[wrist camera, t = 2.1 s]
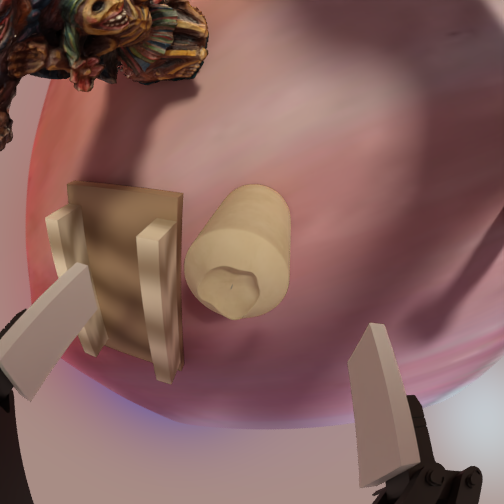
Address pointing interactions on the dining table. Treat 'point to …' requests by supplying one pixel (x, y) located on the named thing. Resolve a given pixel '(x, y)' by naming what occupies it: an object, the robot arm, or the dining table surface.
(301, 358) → the dining table surface
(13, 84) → the figurine
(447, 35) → the dining table surface
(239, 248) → the candle
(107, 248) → the rack
